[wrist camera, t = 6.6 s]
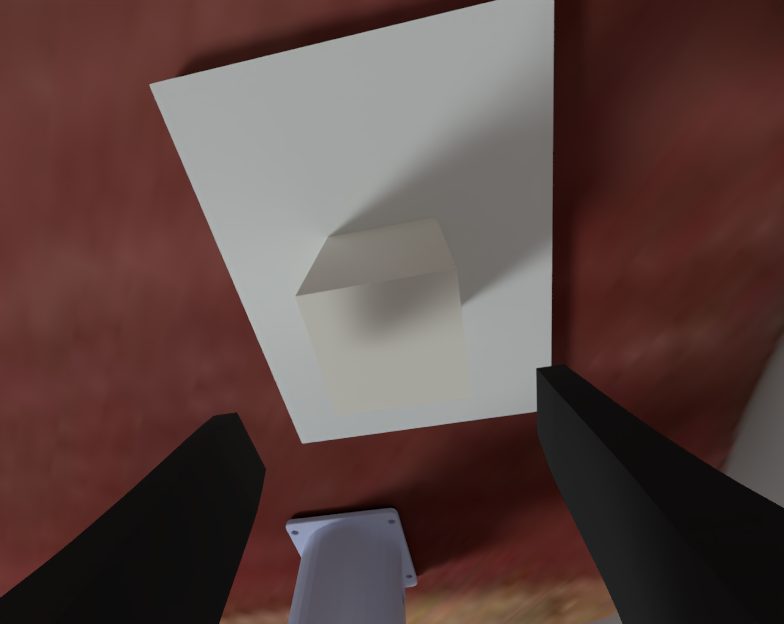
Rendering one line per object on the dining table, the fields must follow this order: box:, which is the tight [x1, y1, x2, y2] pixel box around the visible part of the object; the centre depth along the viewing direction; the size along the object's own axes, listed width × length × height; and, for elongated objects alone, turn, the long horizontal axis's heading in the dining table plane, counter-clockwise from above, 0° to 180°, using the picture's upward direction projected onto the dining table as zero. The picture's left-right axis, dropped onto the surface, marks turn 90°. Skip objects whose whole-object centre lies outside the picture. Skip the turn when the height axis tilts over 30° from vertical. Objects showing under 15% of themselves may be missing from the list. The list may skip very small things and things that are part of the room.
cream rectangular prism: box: [295, 217, 471, 416], centre depth 14 cm, size 5×5×6 cm
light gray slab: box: [149, 0, 554, 444], centre depth 15 cm, size 18×14×6 cm
